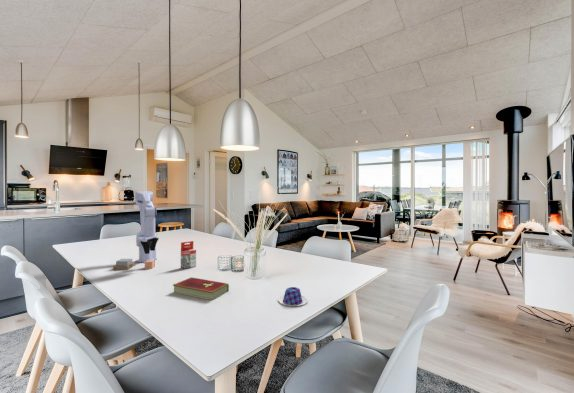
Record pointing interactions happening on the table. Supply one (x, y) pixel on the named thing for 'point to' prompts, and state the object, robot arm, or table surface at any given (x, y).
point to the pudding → (292, 297)
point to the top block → (123, 262)
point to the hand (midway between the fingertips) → (149, 252)
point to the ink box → (188, 255)
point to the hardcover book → (201, 288)
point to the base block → (123, 267)
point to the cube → (149, 264)
